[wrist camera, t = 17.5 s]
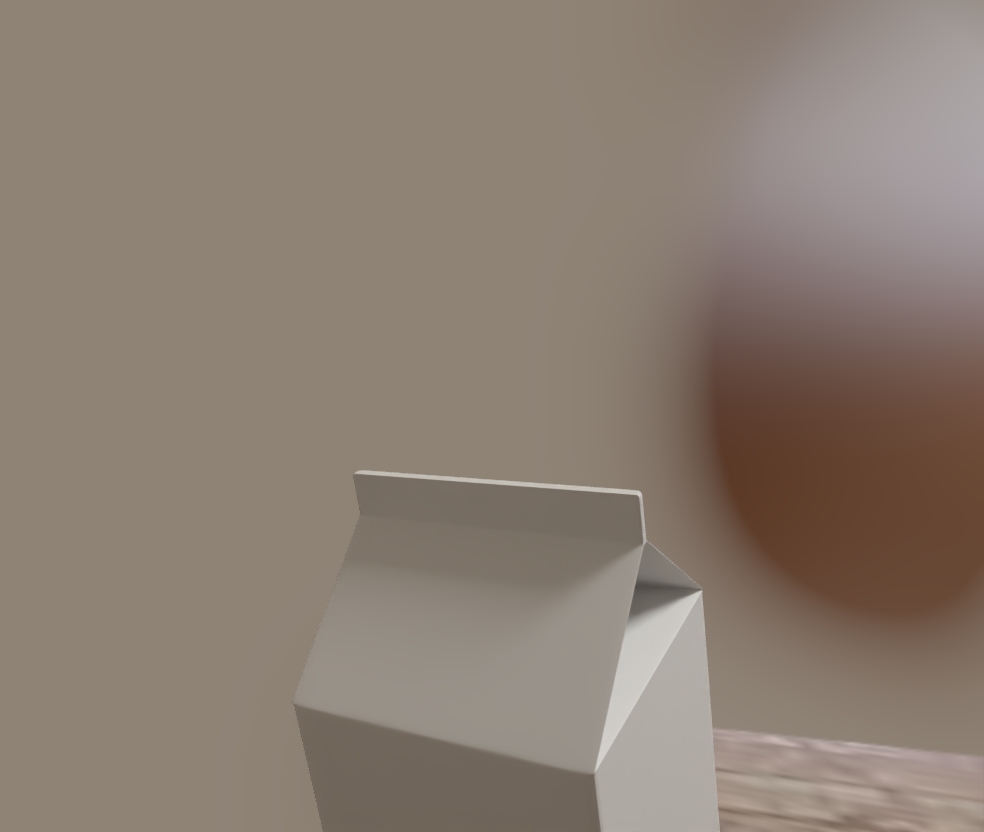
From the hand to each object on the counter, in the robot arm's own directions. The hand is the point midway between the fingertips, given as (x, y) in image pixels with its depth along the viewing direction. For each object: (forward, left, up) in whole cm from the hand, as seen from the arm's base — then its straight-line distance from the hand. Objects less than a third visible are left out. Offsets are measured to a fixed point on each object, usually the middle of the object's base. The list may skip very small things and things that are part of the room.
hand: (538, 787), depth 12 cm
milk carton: (-5, -7, -18) cm, 20 cm away
